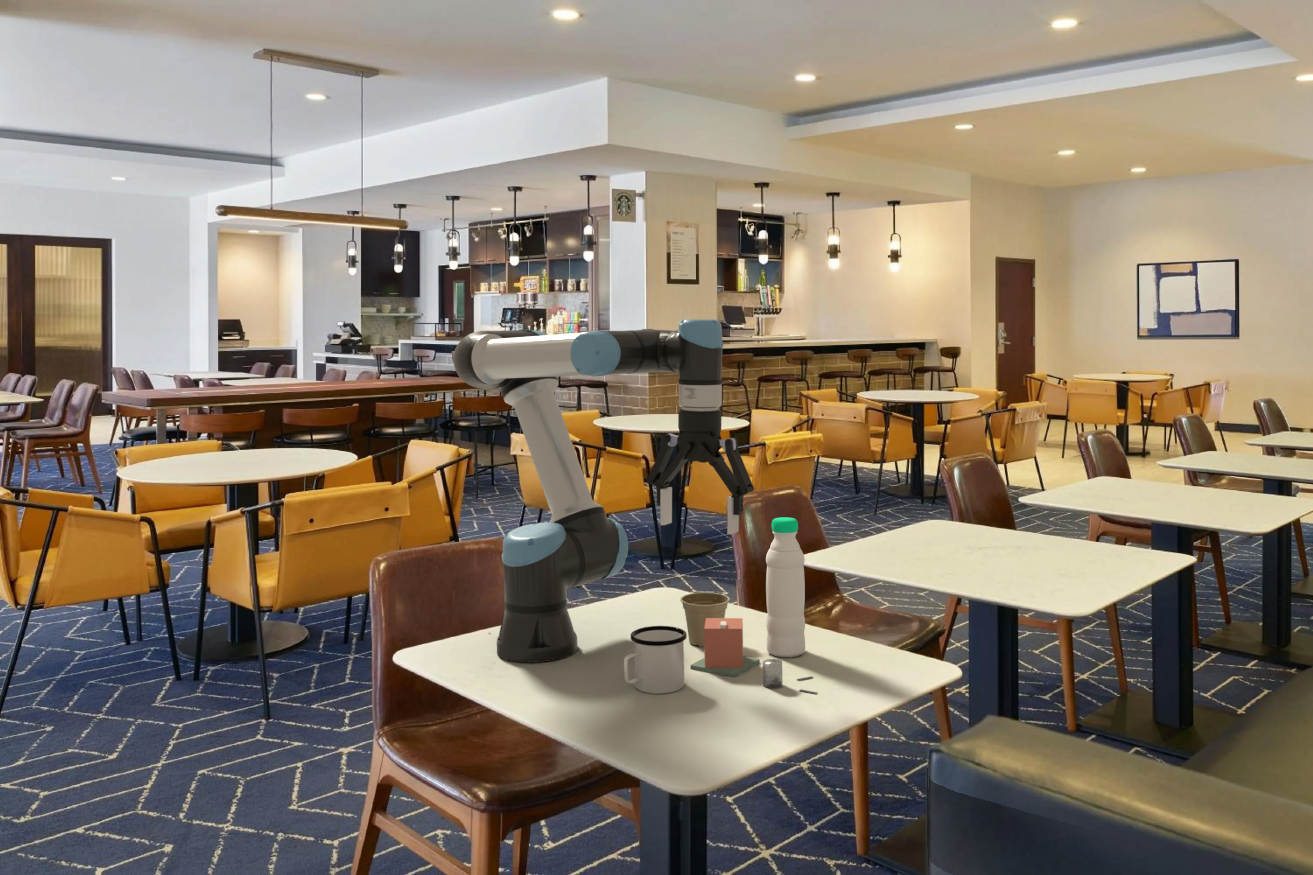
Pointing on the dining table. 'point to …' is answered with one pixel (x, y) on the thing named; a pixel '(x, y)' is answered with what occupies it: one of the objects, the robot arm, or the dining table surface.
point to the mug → (657, 659)
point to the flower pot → (702, 612)
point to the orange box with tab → (723, 642)
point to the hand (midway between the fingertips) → (698, 528)
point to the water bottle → (785, 591)
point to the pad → (733, 672)
